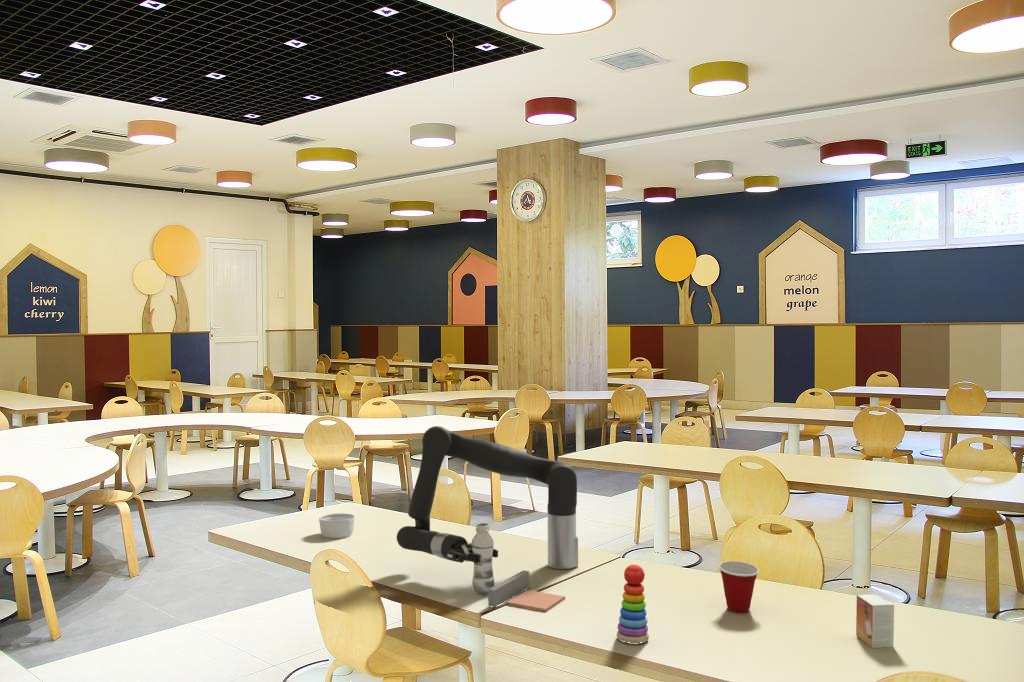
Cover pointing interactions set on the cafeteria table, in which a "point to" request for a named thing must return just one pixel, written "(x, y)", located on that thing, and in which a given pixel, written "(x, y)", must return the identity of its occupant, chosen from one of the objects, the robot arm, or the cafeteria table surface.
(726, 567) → the plastic cup
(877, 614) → the small box
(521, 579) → the low wall
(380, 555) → the cafeteria table surface
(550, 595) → the mat
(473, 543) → the plastic bottle
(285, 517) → the cafeteria table surface
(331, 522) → the ramekin
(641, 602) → the stacking toy
